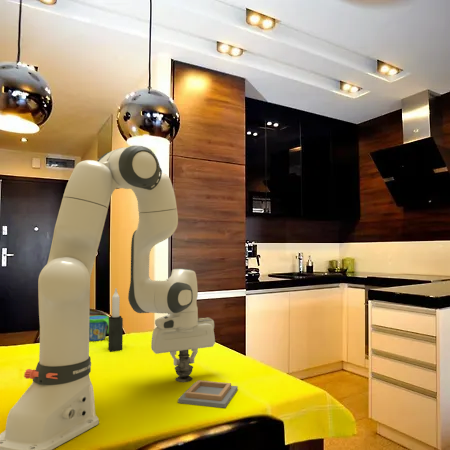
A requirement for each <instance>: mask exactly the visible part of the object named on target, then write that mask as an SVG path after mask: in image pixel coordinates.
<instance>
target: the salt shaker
mask: <svg viewBox="0 0 450 450" xmlns="http://www.w3.org/2000/svg"><path fill="white" fill-rule="evenodd" d="M178 353H179V354H178V355H177V357H178V359H179V360H180V362H179V363H180V365H177V366H174V370H175V373H176V375H177V377H175V381H176V382H179V383H188V382H191V381H192V380H193V377H192V376H190V375H191V374H192V372H193V369H194V366H193V365H191V364H189V357H191V354H189V350H182V351H178Z"/></svg>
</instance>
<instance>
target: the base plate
mask: <svg viewBox="0 0 450 450" xmlns="http://www.w3.org/2000/svg"><path fill="white" fill-rule="evenodd" d="M238 388H239V387H238V385H232V383H230V382H223V381H222V382H220V381H219V382H218V381H209V380H201V379H200V380H197V381H196V382H194V383H193V384H192V385H191V386H190V387H189V388H188V389H187V390H186V391H185V392H184V393H182V395H180V397H179V398H177V403H178V404H185V405H192V406H193V405H195V406H200V407H201V406H202V407H211V408H220V409H226V407H227V406H228V405H229V404H230V402H231V400H232V399H233V397H234V396H235V394H236V393H237V391H238Z"/></svg>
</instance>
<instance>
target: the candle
mask: <svg viewBox="0 0 450 450" xmlns="http://www.w3.org/2000/svg"><path fill="white" fill-rule="evenodd" d="M111 298H112V299H111V302H112V303H111V316H109V334H108V336H107V337H108V339H107V340H108V342H107V343H108V345H107V347H108V348H107V349H108V350H109V352H112V353H113V352H120V350H121V351H123V341H124V340H123V336H124V335H123V328H124V327H123V326H124V325H123V323H124V322H123V321H124V318H123V317H122V315H120V295H119V293H118V288H114V293H113V295H112V296H111Z"/></svg>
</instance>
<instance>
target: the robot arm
mask: <svg viewBox="0 0 450 450" xmlns="http://www.w3.org/2000/svg"><path fill="white" fill-rule="evenodd" d="M159 162H160V161H159V160H158V157H157V156H156V154H155V153H154V151H152V150H151V149H150V148H148V147H146V146H143V145H131V146H126V147H119V148H116V149H113V150H111V151H109V152H106V153H104V154H103V155H101V157H100V158H99V159H97V160H92V159H86V160H82V161H79V162H78V163H77V164H76V165H75V166H74V167H73V170H72V172H71V174H70V177H69V179H68V182H67V183H66V186H65V189H64V193H63V196H62V199H61V203H60V207H59V211H58V214H57V218H56V222H55V225H54V229H53V235H52V242H51V246H50V251H49V254H48V259H47V263H46V265H44V267H43V268H42V269H41V271H40V272H39V275H38V283H37V284H38V285H37V286H38V292H37V293H38V316H39V317H38V318H39V354H38V355H39V356H38V357H39V358H38V359H39V361H38V362H37V364H36V367H35V369H32V368H31V369H30V368H27V369H26V370H25V372H23V373H24V374H23V377H24V378H25V379H30V380H32V383H31V384H30V386H29V387H28V388H27V389H26V390H25V392H23V394H22V395H21V397H20V398H19V399H18V400H17V402H15V404H14V405H13V406H12V408H10V410H9V413H8V415H7V418H6V423H5V430H4V431H2V432H1V433H0V450H54V449H55V448H57V447H59V446H62V445H63V444H65V443H67V442H68V441H70V440H72V439H74V438H75V437H77V436H79V435H81V434H83V433H85V432H87V431H88V430H90V429H92V428H93V427H95V426H97V425H99V423H100V421H99V417H98V416H97V414H96V406H95V393H94V386H93V384H92V381H91V378H90V373H91V370H92V367H91V366H92V362H91V356H90V340H89V316H91V315H90V313H91V312H90V309H91V308H90V303H91V302H90V301H91V276H92V274H93V273H92V272H93V268H94V264H95V260H96V257H97V254H98V249H99V246H100V242H101V239H102V235H103V230H104V227H105V222H106V219H107V215H108V209H109V206H110V201H111V197H112V195H113V193H114V191H115V190H117V189H119V190H120V189H123V190H132V192H133V193H134V195H135V197H136V201H137V208H138V209H137V211H138V223H137V228H136V230H135V231H134V232H133V234H132V237H131V243H130V246H131V247H130V281H129V282H130V284H129V289H128V295H127V299H128V302H129V303H128V304H129V305H130V307H131V308H132V310H133V312H136V313H137V314H149V313H150V314H151V313H153V314H166V315H164V316H161V317H159V318H156V319H155V321H154V324H155V328H154V329H153V331H152V336H151V346H150V347H151V351H152V352H153V353H154V354H157V355H159V354H164V353H169V354H170V356H171V357H172V359H173V366H174V367H176V366H178V365H180V363H179V362H180V360H179V357H178V358H177V357H176V355H177V352H179V351H182V350H188V351H189V350H190V351H191V354H190V356H189V365H191V364H194V363H195V358H196V356H197V355H198V353H199V352H198V351H199V350H198V349H204V348H213V347H214V346H215V344H216V339H215V338H216V337H215V332H214V331H215V330H214V329H215V321H214V319H212V318H211V317H199V314H198V309H199V307H198V304H197V300H198V295H199V294H198V279H197V274H196V271H195V270H193V269H190V268H184V267H181V268H180V267H179V268H177V267H176V268H173V269H172V270H171V275H170V276H169V277H168V278H166V280H152V279H151V277H150V254H151V250H153V248H154V247H155V246H156V245H158V244H159V243H161V242H164V241H166V240H167V239H169V238H170V237H172V235H173V234H174V233H175V232H176V230H177V228H178V224H179V215H178V214H179V213H178V208H177V200H176V194H175V190H174V187H173V184H172V180H171V178H170V176H169V175H167V174H166V173H163V170H162V168H161V165H160V163H159Z"/></svg>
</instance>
